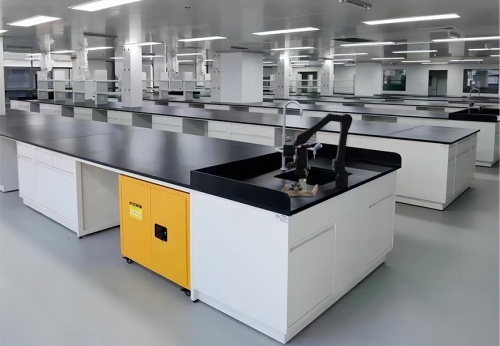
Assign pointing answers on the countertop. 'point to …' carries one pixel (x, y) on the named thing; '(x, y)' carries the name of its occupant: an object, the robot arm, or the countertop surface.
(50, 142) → the countertop surface
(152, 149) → the countertop surface
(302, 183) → the valve
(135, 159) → the countertop surface
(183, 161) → the countertop surface
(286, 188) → the holding jig
